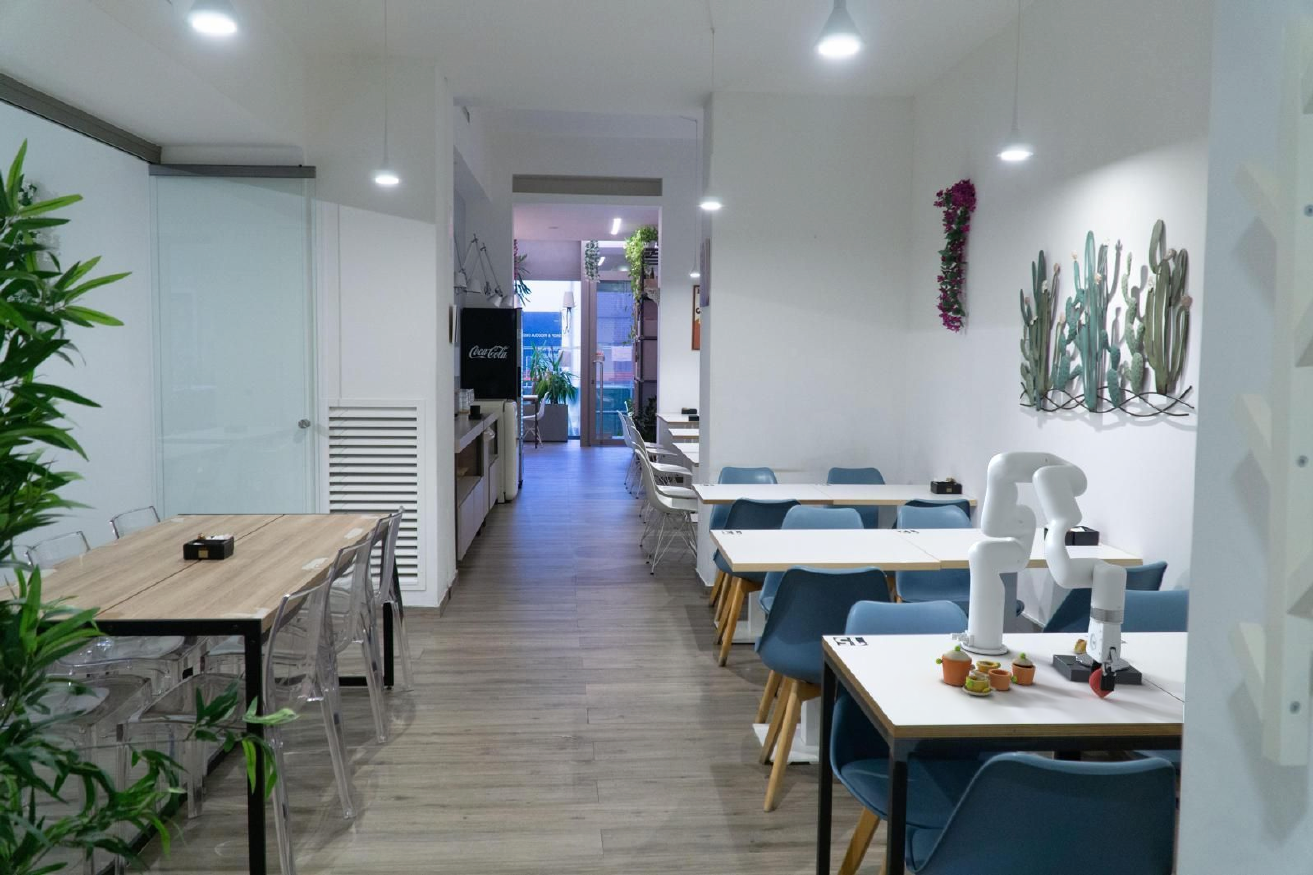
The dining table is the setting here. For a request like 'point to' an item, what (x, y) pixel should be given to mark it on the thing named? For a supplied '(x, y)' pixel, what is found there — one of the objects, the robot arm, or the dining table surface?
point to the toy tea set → (983, 672)
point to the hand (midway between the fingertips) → (1101, 685)
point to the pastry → (1080, 646)
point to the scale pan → (1122, 663)
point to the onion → (1097, 683)
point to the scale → (1082, 672)
